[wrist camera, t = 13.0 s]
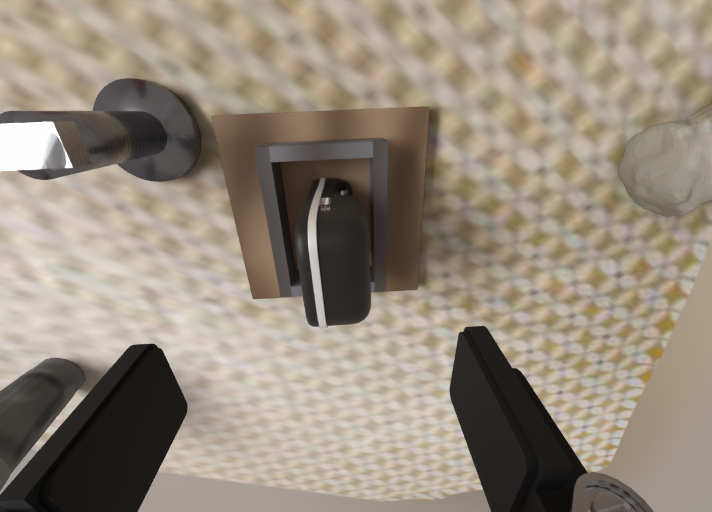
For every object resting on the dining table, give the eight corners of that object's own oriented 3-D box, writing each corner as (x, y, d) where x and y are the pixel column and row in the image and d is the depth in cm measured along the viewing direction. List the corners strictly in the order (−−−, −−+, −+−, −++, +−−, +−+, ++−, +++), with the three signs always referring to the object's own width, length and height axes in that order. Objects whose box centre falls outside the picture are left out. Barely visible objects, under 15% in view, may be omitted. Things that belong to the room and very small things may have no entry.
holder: (425, 106, 23) (441, 106, 19) (415, 284, 30) (425, 308, 26) (215, 115, 22) (191, 116, 19) (255, 293, 29) (243, 318, 26)
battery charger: (362, 251, 27) (376, 338, 17) (320, 253, 27) (308, 343, 16) (359, 172, 24) (373, 219, 13) (312, 175, 24) (290, 224, 13)
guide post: (186, 77, 21) (72, 53, 12) (211, 176, 24) (134, 215, 15) (86, 81, 21) (-104, 59, 12) (124, 181, 24) (-5, 222, 15)
